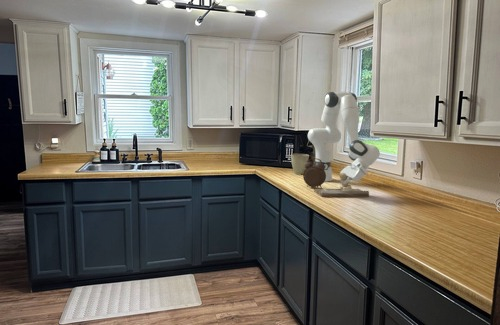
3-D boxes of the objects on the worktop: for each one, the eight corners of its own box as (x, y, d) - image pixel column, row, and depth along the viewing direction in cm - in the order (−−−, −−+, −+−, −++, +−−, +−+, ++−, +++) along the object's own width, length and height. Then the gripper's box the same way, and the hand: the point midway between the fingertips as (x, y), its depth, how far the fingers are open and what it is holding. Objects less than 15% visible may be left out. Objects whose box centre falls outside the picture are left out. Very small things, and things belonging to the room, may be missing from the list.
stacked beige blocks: (340, 190, 220) (336, 174, 218) (348, 188, 220) (343, 171, 218) (344, 192, 214) (340, 175, 212) (352, 190, 214) (348, 173, 212)
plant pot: (286, 172, 295) (287, 153, 293) (303, 172, 299) (304, 153, 297) (294, 175, 281) (295, 155, 279) (311, 175, 285) (312, 155, 283)
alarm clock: (326, 188, 234) (328, 159, 231) (321, 190, 228) (323, 159, 225) (306, 185, 243) (308, 156, 240) (301, 187, 237) (303, 157, 234)
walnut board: (314, 191, 223) (314, 186, 223) (358, 191, 228) (358, 186, 227) (321, 196, 209) (322, 191, 209) (368, 197, 214) (369, 191, 214)
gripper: (347, 161, 226) (332, 175, 225) (362, 165, 206) (345, 182, 205) (353, 168, 227) (338, 182, 227) (369, 173, 207) (352, 189, 207)
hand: (342, 182), depth 216 cm, fingers closed on stacked beige blocks, 3 cm apart
